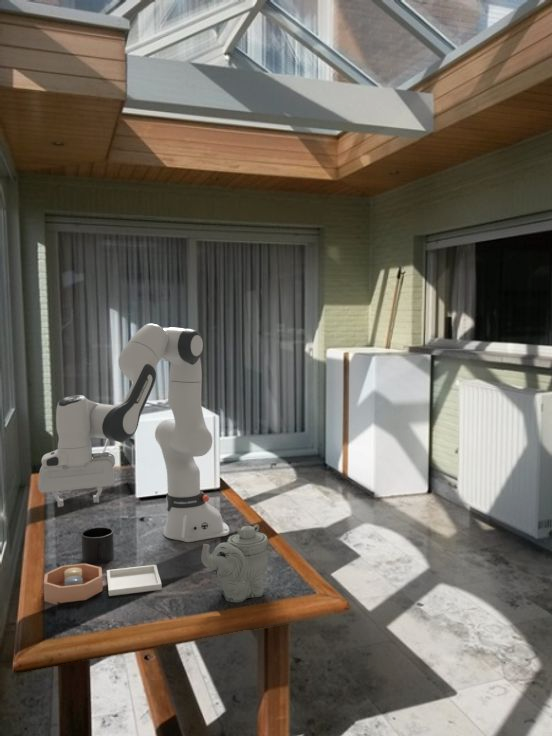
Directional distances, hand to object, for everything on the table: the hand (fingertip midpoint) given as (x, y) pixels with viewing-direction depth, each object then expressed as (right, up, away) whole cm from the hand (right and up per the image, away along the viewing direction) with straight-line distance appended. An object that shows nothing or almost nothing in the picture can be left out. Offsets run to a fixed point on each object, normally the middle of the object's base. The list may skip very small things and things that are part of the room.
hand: (78, 504), depth 179 cm
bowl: (-1, -24, -2) cm, 24 cm away
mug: (0, -22, +19) cm, 29 cm away
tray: (+15, -23, +3) cm, 28 cm away
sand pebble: (-2, -23, +1) cm, 23 cm away
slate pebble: (0, -23, -5) cm, 24 cm away
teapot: (+44, -24, -3) cm, 50 cm away
